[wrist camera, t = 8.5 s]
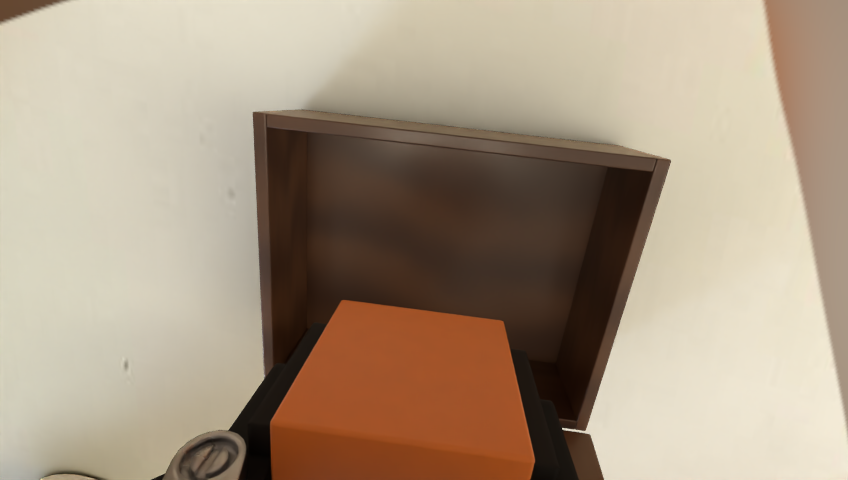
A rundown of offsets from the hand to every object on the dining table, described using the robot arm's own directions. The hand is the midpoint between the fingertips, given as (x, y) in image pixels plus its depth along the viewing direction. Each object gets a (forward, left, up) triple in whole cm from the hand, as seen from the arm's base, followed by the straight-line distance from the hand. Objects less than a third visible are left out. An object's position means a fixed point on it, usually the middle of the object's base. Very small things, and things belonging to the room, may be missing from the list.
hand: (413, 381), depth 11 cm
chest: (+1, -1, -13) cm, 13 cm away
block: (0, 0, 0) cm, 0 cm away
